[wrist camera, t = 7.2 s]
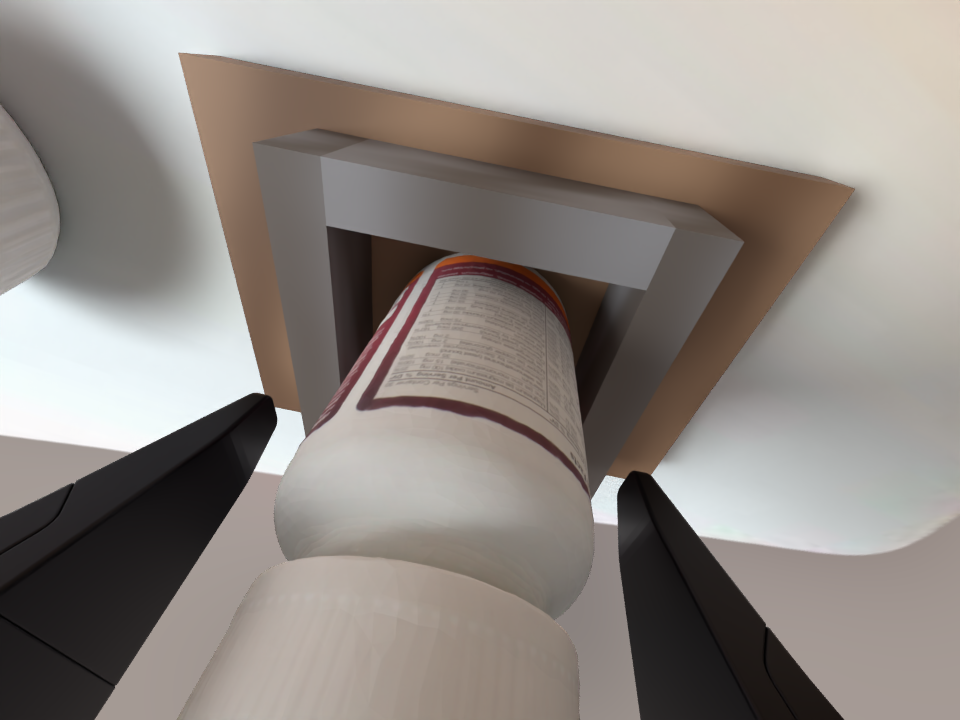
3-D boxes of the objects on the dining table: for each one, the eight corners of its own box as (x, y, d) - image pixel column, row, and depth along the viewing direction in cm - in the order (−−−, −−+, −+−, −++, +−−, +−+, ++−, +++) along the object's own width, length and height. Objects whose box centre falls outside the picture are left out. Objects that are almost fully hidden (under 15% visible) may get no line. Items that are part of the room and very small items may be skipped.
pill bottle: (448, 406, 16) (335, 811, 7) (366, 284, 13) (0, 716, 4) (591, 368, 14) (680, 873, 5) (532, 211, 11) (499, 773, 2)
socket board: (821, 176, 11) (956, 224, 7) (638, 457, 19) (661, 546, 15) (217, 55, 11) (63, 44, 8) (284, 385, 19) (225, 456, 15)
